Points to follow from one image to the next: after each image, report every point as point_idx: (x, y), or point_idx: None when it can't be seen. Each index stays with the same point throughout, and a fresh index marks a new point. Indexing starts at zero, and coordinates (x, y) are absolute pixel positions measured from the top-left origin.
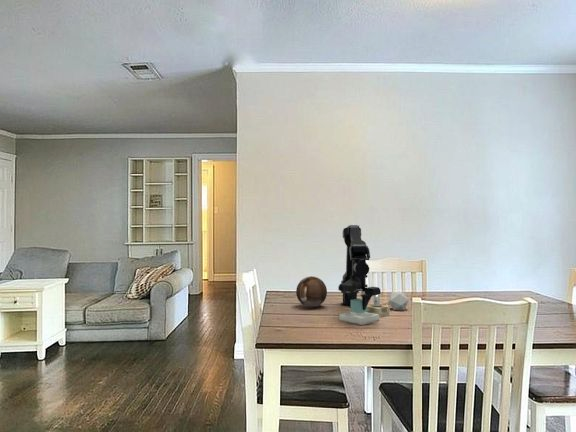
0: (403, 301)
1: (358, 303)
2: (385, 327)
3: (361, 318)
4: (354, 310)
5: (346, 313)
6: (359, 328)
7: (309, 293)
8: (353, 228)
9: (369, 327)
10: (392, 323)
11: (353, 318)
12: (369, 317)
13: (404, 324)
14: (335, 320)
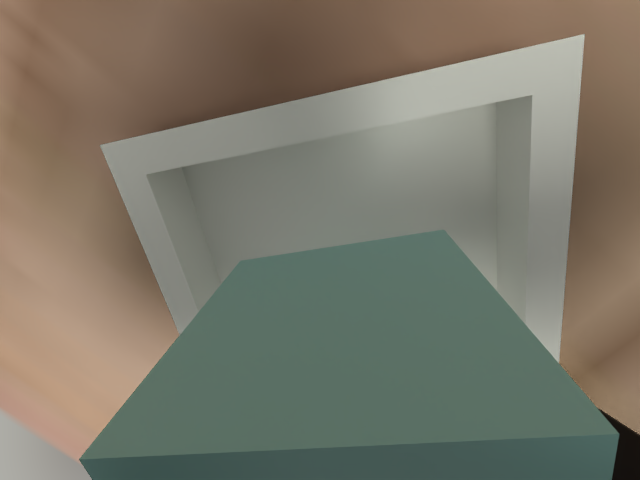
0: None
1: (190, 385)
2: (8, 274)
3: (140, 175)
4: (354, 257)
5: (541, 216)
6: (27, 4)
7: None
8: None
9: (43, 149)
10: (118, 402)
11: (248, 112)
12: (172, 307)
13: (63, 435)
14: (574, 5)
